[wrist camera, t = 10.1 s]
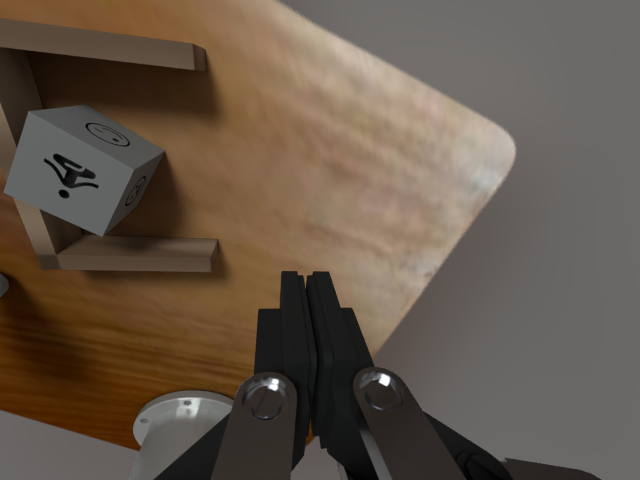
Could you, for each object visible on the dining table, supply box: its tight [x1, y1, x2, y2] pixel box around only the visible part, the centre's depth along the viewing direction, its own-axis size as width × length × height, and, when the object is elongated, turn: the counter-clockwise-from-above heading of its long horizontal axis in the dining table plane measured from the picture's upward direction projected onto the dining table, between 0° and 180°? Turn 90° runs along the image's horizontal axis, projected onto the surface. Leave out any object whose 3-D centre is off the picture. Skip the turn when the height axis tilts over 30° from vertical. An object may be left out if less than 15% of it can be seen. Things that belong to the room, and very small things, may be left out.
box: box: [0, 18, 219, 272], centre depth 19 cm, size 14×11×3 cm
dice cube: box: [3, 104, 165, 237], centre depth 18 cm, size 5×5×5 cm
